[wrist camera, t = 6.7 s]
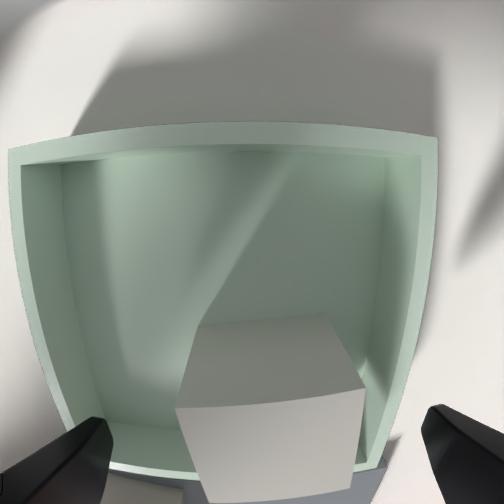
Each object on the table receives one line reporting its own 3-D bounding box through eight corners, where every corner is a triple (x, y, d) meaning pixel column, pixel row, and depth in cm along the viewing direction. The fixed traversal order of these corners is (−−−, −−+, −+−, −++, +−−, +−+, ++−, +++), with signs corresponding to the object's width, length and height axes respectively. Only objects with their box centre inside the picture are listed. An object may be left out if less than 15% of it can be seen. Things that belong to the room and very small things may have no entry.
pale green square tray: (356, 418, 12) (376, 467, 9) (105, 416, 12) (82, 462, 9) (388, 145, 9) (437, 137, 7) (61, 152, 9) (8, 149, 6)
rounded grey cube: (324, 406, 11) (349, 488, 7) (217, 417, 11) (209, 502, 7) (324, 312, 10) (365, 388, 6) (198, 325, 10) (174, 408, 6)
